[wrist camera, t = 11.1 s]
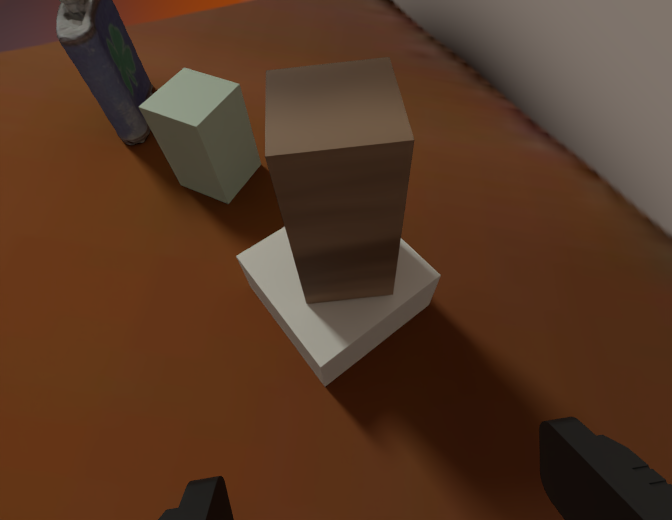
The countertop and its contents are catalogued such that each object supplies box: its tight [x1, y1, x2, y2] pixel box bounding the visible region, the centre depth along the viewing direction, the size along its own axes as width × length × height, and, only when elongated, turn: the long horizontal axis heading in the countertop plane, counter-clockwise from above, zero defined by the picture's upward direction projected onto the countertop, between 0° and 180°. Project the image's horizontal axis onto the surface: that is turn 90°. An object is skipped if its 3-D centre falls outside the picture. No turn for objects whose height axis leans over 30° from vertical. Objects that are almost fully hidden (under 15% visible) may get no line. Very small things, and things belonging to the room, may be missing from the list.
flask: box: [56, 0, 153, 145], centre depth 30 cm, size 9×3×11 cm, turn 12°
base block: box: [236, 227, 441, 386], centre depth 23 cm, size 8×8×4 cm
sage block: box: [139, 68, 261, 204], centre depth 27 cm, size 4×4×7 cm
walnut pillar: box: [265, 57, 414, 304], centre depth 17 cm, size 4×4×10 cm
